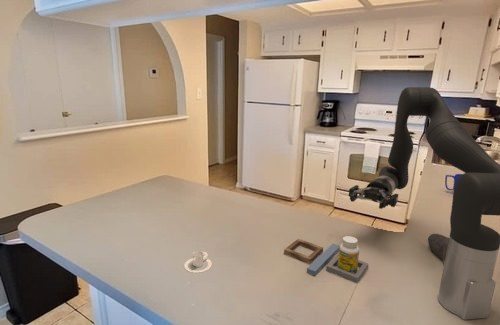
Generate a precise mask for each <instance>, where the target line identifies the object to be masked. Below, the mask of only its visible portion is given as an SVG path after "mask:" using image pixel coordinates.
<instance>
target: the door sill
mask: <svg viewBox="0 0 500 325" xmlns="http://www.w3.org/2000/svg"><path fill="white" fill-rule="evenodd" d="M339 248H340V244H339V245H338V244H336V243H331V244H330V246H329V247H327V249H325V250H323V252H322V253H321V254H320V255H319V256H318V257H317V258H316V259H315V260H314V261H313V262H312V263H310V264H309V266H308V267H307V268H306V274H309V275H311V276H314V277H315V276H317V275H318V273H320V272H321V270H322V269H323V268H324V267H326V266H327V265H328V264H329V263H330V262H331V261H332V260H333V259H334V258H335V256H336V255H337V254H338V253H339Z"/></svg>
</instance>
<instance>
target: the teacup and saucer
mask: <svg viewBox="0 0 500 325" xmlns="http://www.w3.org/2000/svg"><path fill="white" fill-rule="evenodd" d="M208 257H209V254H208V253H207V252H206V251H201V250H196V251H194V252H192V257H191V258H189V259H188V260H187V261H185V262H184V265H183V267H184V269H185V270H186V271H188V272H189V273H194V274H198V273H204V272H207V271H208V270H209V269H211V267H212V265H213V263H212V261H211V260H210V258H208ZM191 262H192V265H193V266H194V267H196V268H200V267H202V266H203V263H204V262H207V266H206V267H205V268H203V269H200V270H193V269H191V268H189V264H190V263H191Z"/></svg>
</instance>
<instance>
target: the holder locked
mask: <svg viewBox="0 0 500 325" xmlns="http://www.w3.org/2000/svg"><path fill="white" fill-rule="evenodd" d="M299 246H300V247H303V248H306V249H309V250H311V251H313V252H312V253H311V254H309V256H308V255H305V254H303V253H300V252H298V251H295V250H296V249H297V248H298V247H299ZM323 252H324V247H323V246H321V245H317V244H315V243H312V242H308V241H306V240H303V239H300V238H297V239H296V240H295V241H293V242H292V243H291V244H289V245H288V246H287V247H285V248H284V250H283V254H284V255H286V256H289V257H292V258H294V259H295V260H298V261H301V262H304V263H306V264H308V265H311V264H312V263H313V262H314V261H315V260H316V259H317V258H318V257H319V256H320V255H321V254H322V253H323Z"/></svg>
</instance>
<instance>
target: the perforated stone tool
mask: <svg viewBox="0 0 500 325" xmlns="http://www.w3.org/2000/svg"><path fill="white" fill-rule="evenodd" d="M427 242H428V246H429V248H430V250H431V251H432V252H433V253H434V254H435V255H436V256H437V257H439V258H440V259H441V260H442V261H444V262H445V257H446V252H447V247H448V242H449V237H448V236H446V235H442V234H439V233H432V234H429V236H428V238H427Z"/></svg>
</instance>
